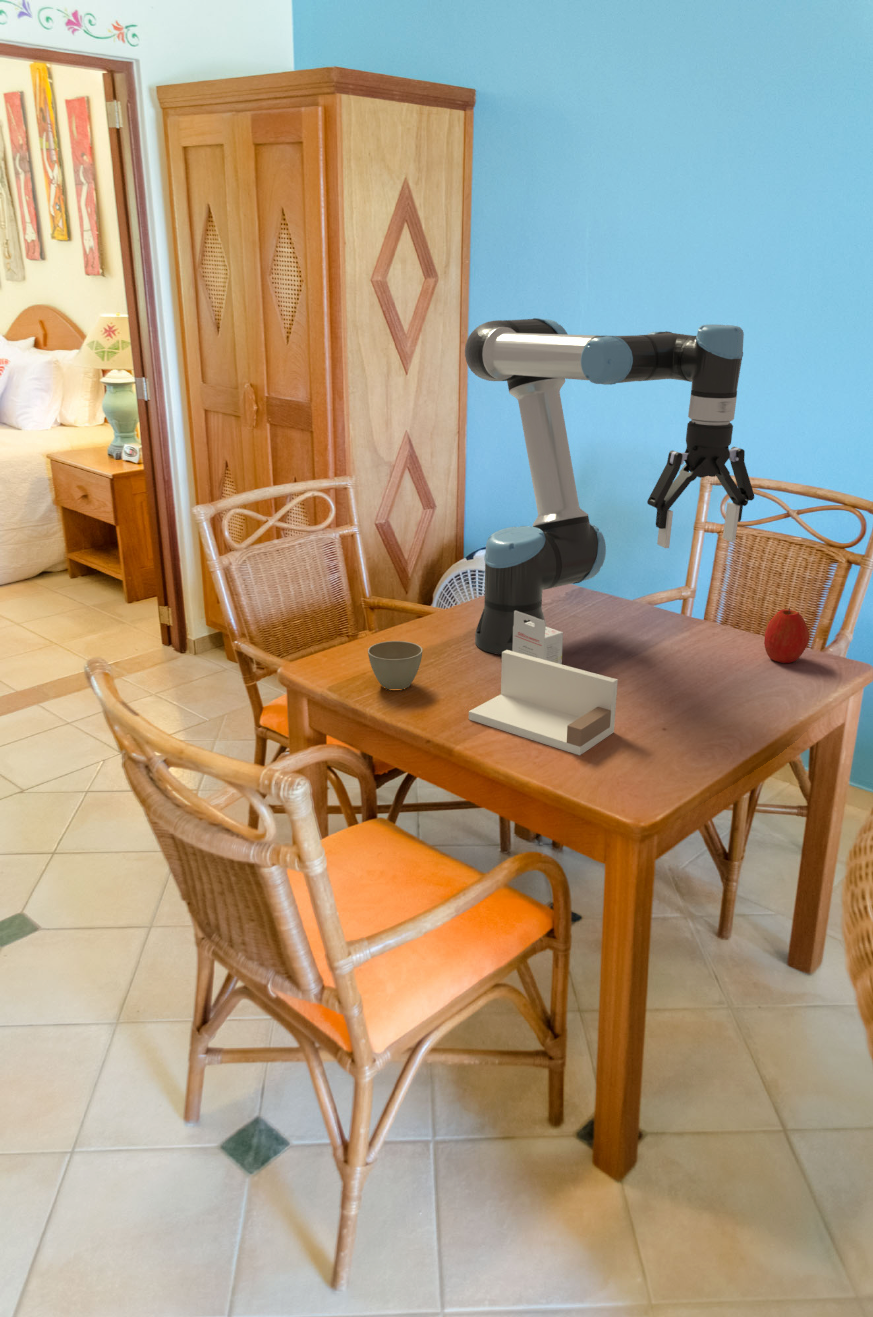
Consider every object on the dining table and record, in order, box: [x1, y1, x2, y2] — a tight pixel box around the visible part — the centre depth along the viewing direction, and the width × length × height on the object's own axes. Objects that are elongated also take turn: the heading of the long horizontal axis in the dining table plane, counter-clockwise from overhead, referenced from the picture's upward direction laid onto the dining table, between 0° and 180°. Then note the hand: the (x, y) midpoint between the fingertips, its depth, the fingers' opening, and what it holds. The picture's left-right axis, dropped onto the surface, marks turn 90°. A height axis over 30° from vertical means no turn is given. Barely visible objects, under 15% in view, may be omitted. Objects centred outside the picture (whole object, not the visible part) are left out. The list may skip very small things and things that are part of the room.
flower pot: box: [367, 640, 424, 690], centre depth 187 cm, size 10×10×7 cm
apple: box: [763, 607, 810, 664], centre depth 199 cm, size 8×8×11 cm
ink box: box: [512, 610, 564, 665], centre depth 184 cm, size 8×5×15 cm, turn 39°
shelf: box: [468, 650, 619, 756], centre depth 170 cm, size 22×11×10 cm, turn 51°
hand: (696, 543), depth 180 cm, fingers open, 13 cm apart
